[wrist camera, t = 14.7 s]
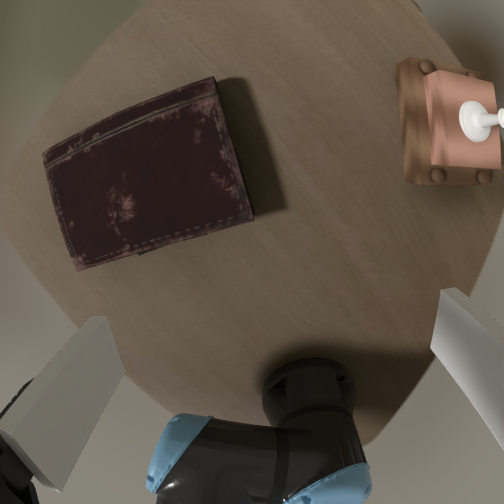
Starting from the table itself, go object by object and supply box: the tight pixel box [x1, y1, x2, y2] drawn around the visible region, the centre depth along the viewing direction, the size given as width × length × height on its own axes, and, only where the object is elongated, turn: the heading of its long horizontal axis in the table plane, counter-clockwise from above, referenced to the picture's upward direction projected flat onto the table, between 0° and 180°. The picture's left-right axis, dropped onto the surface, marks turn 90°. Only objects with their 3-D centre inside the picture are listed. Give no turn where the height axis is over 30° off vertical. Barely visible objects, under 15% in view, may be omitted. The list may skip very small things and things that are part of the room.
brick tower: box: [393, 57, 501, 186], centre depth 30 cm, size 16×12×9 cm
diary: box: [42, 76, 255, 271], centre depth 36 cm, size 19×25×5 cm
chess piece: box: [459, 101, 504, 142], centre depth 21 cm, size 5×5×10 cm
